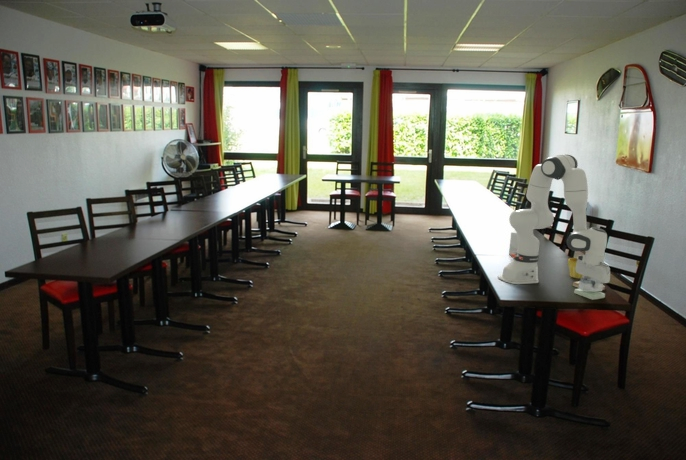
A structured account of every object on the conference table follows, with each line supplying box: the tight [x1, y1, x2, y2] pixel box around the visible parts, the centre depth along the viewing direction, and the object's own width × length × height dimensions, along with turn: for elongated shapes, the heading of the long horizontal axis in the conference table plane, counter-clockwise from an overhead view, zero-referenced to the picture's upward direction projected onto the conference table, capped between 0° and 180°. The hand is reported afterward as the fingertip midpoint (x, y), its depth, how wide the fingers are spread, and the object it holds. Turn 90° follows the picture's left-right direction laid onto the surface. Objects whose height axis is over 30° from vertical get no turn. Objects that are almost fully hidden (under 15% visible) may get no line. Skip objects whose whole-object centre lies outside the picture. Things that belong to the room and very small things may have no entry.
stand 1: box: [572, 280, 606, 291], centre depth 288 cm, size 11×11×2 cm
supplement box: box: [508, 230, 518, 256], centre depth 352 cm, size 9×9×15 cm
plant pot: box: [567, 257, 583, 279], centre depth 307 cm, size 10×10×10 cm
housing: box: [577, 277, 604, 292], centre depth 274 cm, size 10×5×5 cm, turn 93°
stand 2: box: [573, 288, 606, 300], centre depth 276 cm, size 9×11×2 cm
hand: (590, 286), depth 275 cm, fingers closed on housing, 5 cm apart
